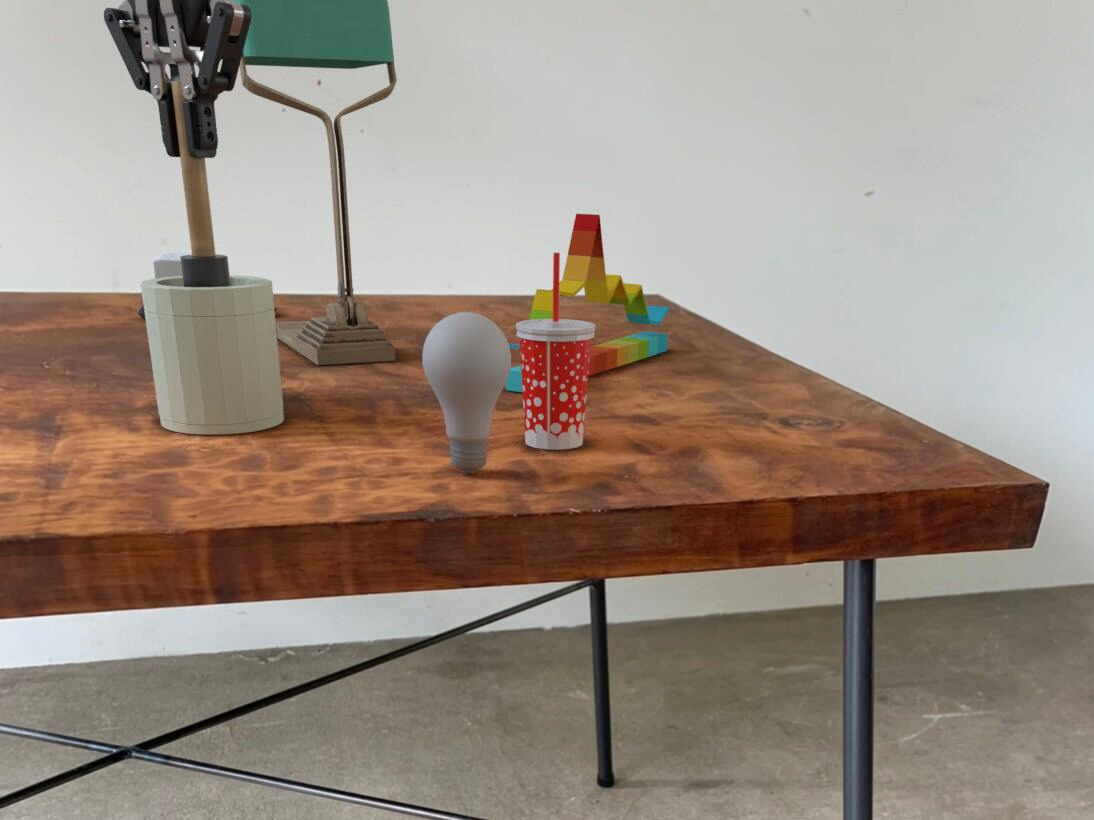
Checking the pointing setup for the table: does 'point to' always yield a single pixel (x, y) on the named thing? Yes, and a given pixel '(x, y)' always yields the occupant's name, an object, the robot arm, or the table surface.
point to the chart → (601, 288)
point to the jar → (214, 355)
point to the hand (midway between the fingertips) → (192, 156)
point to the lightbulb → (467, 381)
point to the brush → (197, 213)
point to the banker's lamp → (328, 42)
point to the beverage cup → (554, 376)
